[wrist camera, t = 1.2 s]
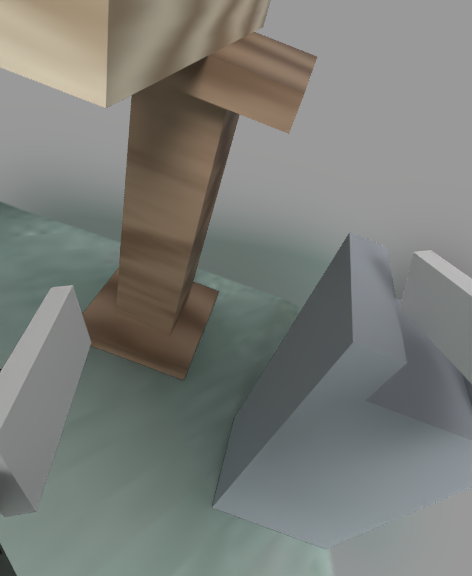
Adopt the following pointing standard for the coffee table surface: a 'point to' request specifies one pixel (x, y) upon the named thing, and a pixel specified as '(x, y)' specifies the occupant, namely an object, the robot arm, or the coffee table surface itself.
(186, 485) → the coffee table surface
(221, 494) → the slotted block
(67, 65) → the birch bar
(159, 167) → the walnut stand
